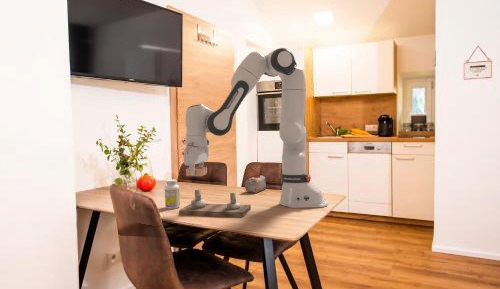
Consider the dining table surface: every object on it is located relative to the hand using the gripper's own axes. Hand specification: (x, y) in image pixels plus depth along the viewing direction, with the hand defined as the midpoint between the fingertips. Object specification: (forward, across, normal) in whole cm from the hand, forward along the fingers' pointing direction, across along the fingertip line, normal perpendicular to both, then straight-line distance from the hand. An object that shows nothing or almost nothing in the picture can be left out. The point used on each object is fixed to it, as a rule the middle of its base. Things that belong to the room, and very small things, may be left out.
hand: (196, 173), depth 157 cm
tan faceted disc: (+1, 0, 0) cm, 1 cm away
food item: (+17, +50, -16) cm, 55 cm away
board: (+17, 0, -8) cm, 19 cm away
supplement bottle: (+17, +6, +15) cm, 23 cm away
